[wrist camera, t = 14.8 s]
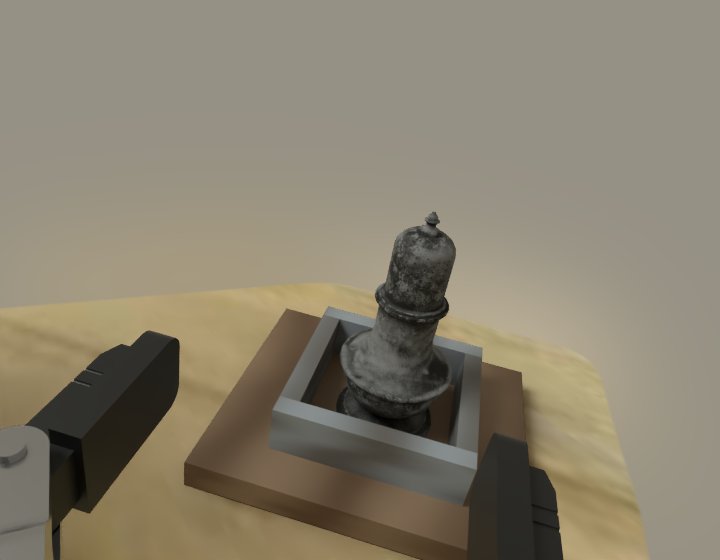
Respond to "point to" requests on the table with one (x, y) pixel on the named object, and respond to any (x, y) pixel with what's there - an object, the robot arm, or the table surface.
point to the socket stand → (354, 442)
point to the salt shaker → (402, 337)
